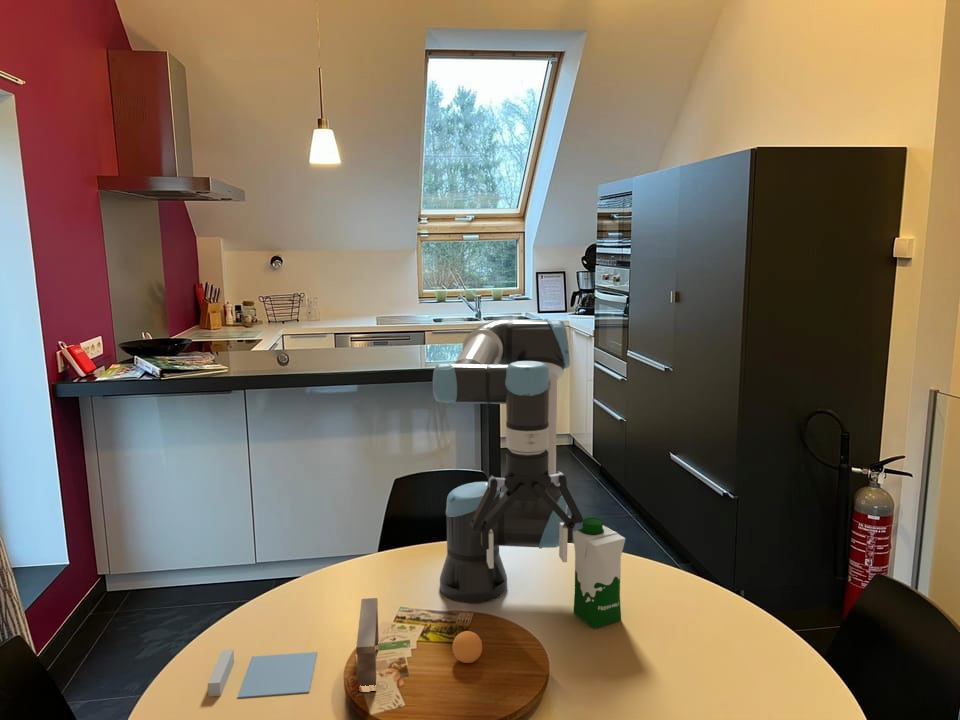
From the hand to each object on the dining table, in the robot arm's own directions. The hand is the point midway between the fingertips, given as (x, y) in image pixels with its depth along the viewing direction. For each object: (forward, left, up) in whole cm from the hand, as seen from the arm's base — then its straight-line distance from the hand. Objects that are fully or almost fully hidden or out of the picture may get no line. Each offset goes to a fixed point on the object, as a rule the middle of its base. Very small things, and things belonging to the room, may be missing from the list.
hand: (526, 562), depth 128 cm
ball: (0, -11, -16) cm, 20 cm away
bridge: (0, -29, -19) cm, 35 cm away
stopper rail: (0, -55, -19) cm, 58 cm away
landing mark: (0, -45, -19) cm, 49 cm away
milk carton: (-12, +17, -19) cm, 28 cm away
